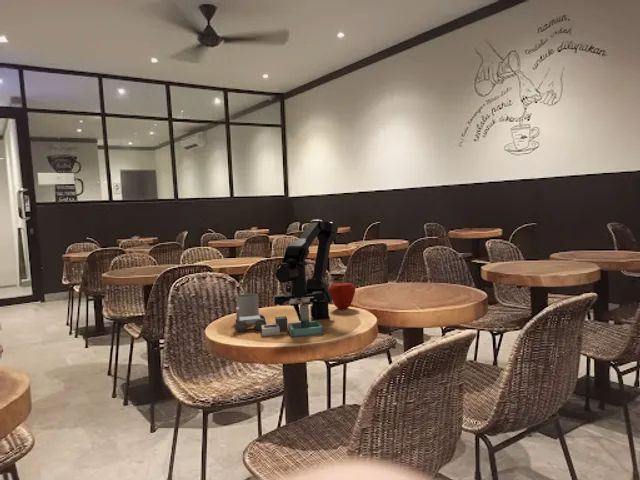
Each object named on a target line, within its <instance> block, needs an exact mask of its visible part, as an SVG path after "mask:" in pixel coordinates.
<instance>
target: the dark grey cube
mask: <svg viewBox="0 0 640 480" xmlns="http://www.w3.org/2000/svg"><path fill="white" fill-rule="evenodd" d="M274 319H275V320H274V321H275V324H278V325H279V328H280V331H281V330H283V331H284V330H288V317H287V316H286V315H285V316H284V315H283V316H275V318H274Z"/></svg>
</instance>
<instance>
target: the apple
mask: <svg viewBox="0 0 640 480" xmlns="http://www.w3.org/2000/svg"><path fill="white" fill-rule="evenodd" d="M328 291H329V292H330V294H331V295H332V301H331V302H332V303H333V304H334V306H335V307H336V308H337V309H338V310H343V309H344V310H347V309H348V308H349V307H350V306H351V305H352V303H353V300H354V297H355V294H356V286H355V285H354V284H353V283H351V282H343V281H341V282H337V283H332V284H330V285H329V286H328ZM346 308H347V309H346Z"/></svg>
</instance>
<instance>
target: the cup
mask: <svg viewBox="0 0 640 480" xmlns="http://www.w3.org/2000/svg"><path fill="white" fill-rule="evenodd" d="M236 307H239V316H243V317H247V316H257V315H259V314H260V311H259V310H260V309H259V295H258V293H242V294H241V293H240V294H238V295H236Z"/></svg>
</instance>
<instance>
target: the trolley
mask: <svg viewBox="0 0 640 480" xmlns="http://www.w3.org/2000/svg"><path fill="white" fill-rule="evenodd" d="M235 312H236V313H235V314H236V319H235V330H236V331H237V332H239V333H244V332H246V330H247V329H248V325H250V324H254V325H255V328H256V330H258V331H260V332H262V330H261V325H267V321H266V318H265V316H264V315H263V314H260V313H259V315H257V316H247V317H243V316H239V307H237V306H236V307H235Z"/></svg>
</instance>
